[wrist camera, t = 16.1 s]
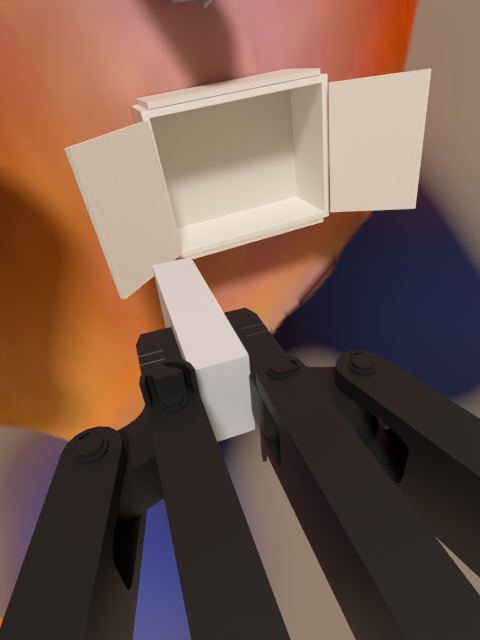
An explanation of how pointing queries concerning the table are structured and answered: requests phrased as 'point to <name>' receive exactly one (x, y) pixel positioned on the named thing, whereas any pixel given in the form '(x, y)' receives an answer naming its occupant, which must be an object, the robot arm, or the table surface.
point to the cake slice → (206, 3)
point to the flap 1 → (126, 203)
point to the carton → (242, 157)
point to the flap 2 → (377, 140)
